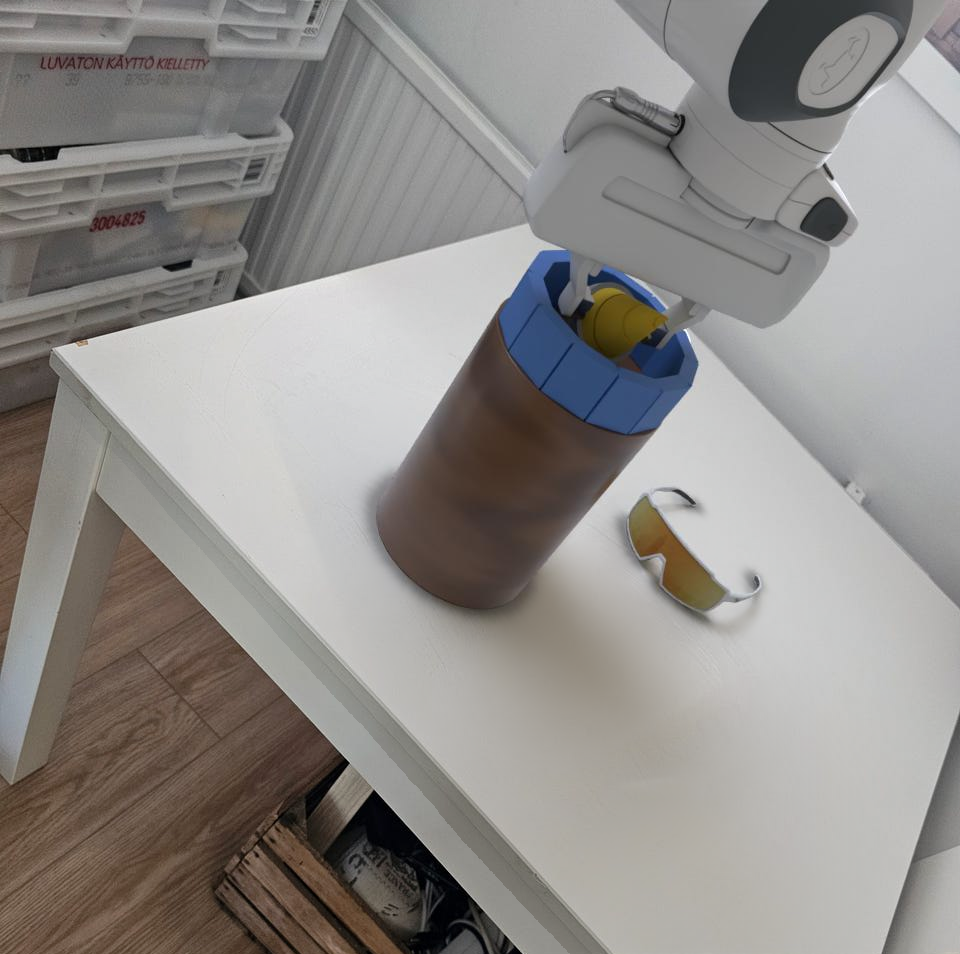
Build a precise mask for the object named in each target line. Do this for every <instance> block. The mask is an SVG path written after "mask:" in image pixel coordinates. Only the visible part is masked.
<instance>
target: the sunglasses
mask: <svg viewBox="0 0 960 954" xmlns="http://www.w3.org/2000/svg"><path fill="white" fill-rule="evenodd" d="M656 492H663V493H674V494H675V495H677V496H679V497H681V498H682V500H684V501H686V502H687V503H688V504H689V505H691V506H692V507H693V506H694V507H695V506H698V504H699V503H698V502H697V500H695V498H693V496H691V495H690V494H689V493H688V492H687V491H686V490H684V489H682V488H680V487H678V486H676V485H656V486H652V487H650V488H648V489H647V490H646V491H644V492H643V493H642V494H641V495H640V496H639V497H638V499H637V501H636V502H635V503H634V504H633V506H632V508H631V509H630V511H629V513H628V515H627V517H626V532H627V538H628V541H629V543H630V546H631V549H632V551H633V553H634V554H635V557H636V558H637V560H639V561H645V562H646V561H649V560H653V559H655V558H658V559H659V560H660V561H661V562H662V564H661V570H660V573H659V583H658V584H659V587H660V588H661V589H662V590H663V591H664V592H665V593H666V594H667V595H668V596H670V597H671V598H672V599H674V600H675V601H677V602H678V603H680V605H683V606H685V607H687V608H688V609H690V610H693V611H694V612H699V613H701V614H707V613H709V612H711V611H713V610H715V609H716V608H717V607H720V606H721V605H722V604H724V602H725V603H732V604H736V603H740V602H742V601H745V600H749V599H750V598H752V597H755V596H756V595H757V594H758V593H759V592H760V591H761V589H762V586H763V583H762V580H761V578H760V576H759V575H758V574H755V575H754V577H753V582H754V585H755V590H754V591H753V592H750V593H736V592H731V590H730V588H729V587H727V586H726V585H725V584H724V583H722V582H721V581H720V580H719V579H718V578H717V577H716V575H715V573H714V571H713V570H712V569H711V568H710V567H709V566H708V565H707V564H706V563H705V562H704V561H703V560H702V559H701V558H700V557H699V556H698V555H697V554H696V552H695V551H694V550H693V549H692V548H691V547H690V546H689V545H688V543H687V542H686V541H685V540H684V539H683V538H682V536H681V535H680V533H679V532H678V531H677V530H676V528H675V527H674V526H673V524H672V523H671V522H670V521H669V519H668V518H667V516H666V515H665V513H664V511H663V510H662V509H661V507H660V506H659V505H658V504H656V502H655V499H654V498H653V496H652V495H653V494H654V493H656Z"/></svg>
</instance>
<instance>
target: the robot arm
mask: <svg viewBox="0 0 960 954" xmlns="http://www.w3.org/2000/svg"><path fill="white" fill-rule="evenodd" d="M613 2H615V4H617V6H619V8H620V9H621V10H622V11H623V12H625V14H626V15H627V16H628V17H629V18H630V19H631V20H632V21H633V22H634V23H635V24H636V25H637V26H638V27H639V28H640V29H641V30H642V31H643V33H644V34H646V35H647V36H648V37H649V38H650V39H651V40H652V41H653V43H655V45H657V46H658V47H659V48H660V49H661V50H662V51H663V52H664V53H665V54H666V55H667V56H668V57H669V59H671V60H672V61H674V62H675V63H676V64H677V65H678V66H679V67H680V68H681V69H682V70H683V71H684V72H685V73H686V74H687V75H688V76H689V77H690V78H691V79H692V80H693V83H692V84H691V86H690V87H689V89H688V90H687V92H686V93H685V95H684V96H683V98H682V99H681V101H680V103H679V104H678V105H677V107H676V108H675V110H671V109H669V108H667V107H665V106H663V105H661V104H658V103H655V102H652V101H649V100H647V99H645V98H643V97H641V96H640V95H639V94H638V93H637V92H635V91H634V90H632V89H630V88H627V87H625V86H616V87H614V89H600V90H596V91H593V92H592V93H588V94H586V95H585V96H584V97H583V98H582V99H581V100H580V101H579V102H578V104H577V106H576V108H575V109H574V111H573V113H572V114H571V116H570V118H569V119H568V121H567V123H566V125H565V128H564V130H563V133H562V134H561V136H560V137H559V138H558V139H557V140H556V142H554V144H553V145H552V146H551V148H550V149H549V151H548V152H547V153H546V154H545V156H544V157H543V158H542V160H541V161H540V163H538V165H537V167H536V168H535V170H534V171H533V173H532V174H531V176H530V177H529V178H528V180H527V182H526V183H525V184H524V185H525V186H524V188H523V190H522V205H523V209H524V214H525V217H526V220H527V223H528V226H529V228H530V231H531V233H532V234H533V236H534V237H536V238H537V239H539V240H541V241H543V242H545V243H549V244H551V245H553V246H556V247H559V248H561V249H562V250H568V251H571V260H570V282H569V283H568V285H567V286H566V288H565V289H564V291H563V292H562V294H561V295H560V297H559V300H558V305H559V308H560V311H561V314H563V315H565V316H568V317H571V318H574V319H577V320H580V321H581V320H583V319H584V318H585V316H586V312H588V311H590V309H591V308H592V306H593V305H594V304H595V302H594V299H593V296H592V295H591V294H590V293H591V290H590V288H589V286H587V279H588V274H590V275H591V276H594V277H595V276H597V275H598V273H599V272H600V271H601V269H602V268H603V266H604V265H605V266H607V267H610V268H612V269H615V270H617V271H620V272H622V273H624V274H626V275H627V276H628V277H632V278H634V279H637V280H639V281H641V282H644V283H647V284H649V285H651V286H654V287H657V288H658V289H661V290H664V291H666V292H669V293H671V294H673V295H676V296H678V297H680V298H681V300H679V301H678V302H676V303H675V304H673V305H671V306H670V307H668V308H666V309H667V310H665V311H664V312H662V313H661V314H663V315H665V316H667V317H668V320H667V321H666V322H665V323H664V324H662V325H661V326H660V327H658V328H656V330H654V331H653V332H652V333H650V334H649V335H648V336H646V337H645V338H644V339H642V340H641V343H642V344H644V345H647V346H649V347H652V348H655V349H658V350H661V349H662V348H663V347H664V346H665V345H666V343H667V342H668V341H669V340H670V338H671V337H672V336H673V335H674V333H675V334H676V333H679V332H681V331H683V330H685V329H686V330H687V329H689V328H691V327H693V326H694V325H696V324H698V323H701V322H703V321H704V320H705V318H706V317H707V316H708V315H709V313H711V312H712V310H713V311H715V312H718V313H720V314H722V315H724V316H727V317H730V318H732V319H736V320H737V321H740V322H741V323H744V324H747V325H750V326H752V327H754V328H757V329H759V330H765V329H769V328H771V327H774V326H776V325H777V324H780V323H782V322H783V321H784V320H785V319H787V317H789V315H790V314H791V313H792V312H793V311H794V310H795V309H796V308H797V306H798V305H799V304H800V303H801V302H802V301H803V300H804V298H805V297H806V296H807V295H808V293H809V292H810V291H811V290H812V288H813V287H814V286H815V285H816V283H817V282H818V281H819V279H820V278H821V277H822V276H823V274H824V272H825V271H826V269H827V267H828V265H829V263H830V260H831V255H832V251H831V248H839V247H841V246H843V245H844V244H845V243H847V242H848V241H849V240H850V239H851V238H852V237H853V235H855V233H856V231H858V228H859V224H860V223H859V219H858V217H857V215H856V213H855V212H854V209H853V208H852V205H851V204H850V202H849V200H848V199H847V196H846V195H845V193H844V192H843V190H842V189H841V187H840V185H839V184H838V182H837V181H836V179H835V177H834V174H833V172H832V171H831V170H830V168H829V166H828V165H827V163H826V161H827V160H828V159H829V158H830V156H832V154H834V151H835V150H836V149H837V148H838V146H839V144H841V141H842V140H843V137H844V136H845V133H846V131H847V128H848V126H849V125H850V123H851V121H852V119H853V117H854V116H855V114H856V113H857V112H858V110H859V109H860V107H861V106H862V105H864V104H865V103H866V101H867V100H868V99H869V98H870V97H871V96H873V95H874V94H875V93H876V92H878V91H880V89H882V88H884V87H885V86H886V85H887V84H888V83H890V81H891V80H892V79H893V78H894V76H895V75H896V74H897V73H898V71H899V70H900V69H901V68H902V67H903V65H904V64H905V63H906V61H907V60H908V59H909V58H910V56H911V55H912V54H913V53H914V51H915V50H916V48H917V47H918V46H919V45H920V43H921V42H922V41H923V39H924V38H925V37H926V36H927V34H928V32H929V31H930V30H931V28H932V27H933V25H934V24H935V23H936V21H937V20H938V19H939V17H940V16H941V14H942V13H943V11H945V8H946V7H947V6H948V5H949V3H950V2H951V0H613ZM606 99H609V101H608V100H606Z"/></svg>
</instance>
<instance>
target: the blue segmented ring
mask: <svg viewBox="0 0 960 954" xmlns="http://www.w3.org/2000/svg"><path fill="white" fill-rule="evenodd" d="M570 260H571V251H568V250H566V249H544V250H541V251H538V253H537V255H536V256H535V258H534V259H533V261H532V262H531V264H530V265H529V266H528V268H527V269H526V271H525V272H524V274H523V275H522V276H521V279H520V280H519V282H518V283H517V285H516V287H515V288H514V290H513V291H512V293H511V295H510V296H509V297H510V298H509V297H508V298H509V299H508V301H507V303H506V304H505V306H504V307H503V309H502V311H501V312H500V314H499V321H500V325H501V328H502V332H503V336H504V340H505V343H506V347H507V350H509V353H510V355H511V356H512V357H513V358H514V360H515V361H516V362H517V363H518V364H519V366H520V367H521V368H522V369H523V371H524V372H525V373H526V374H527V376H528V377H529V378H530V379H531V380H532V382H533V383H534V384H535V385H536V387H537V388H538V389H541V388H542V389H541V392H543V393H544V394H546V395H547V396H549V397H550V398H551V399H553V400H554V401H556V402H557V403H559V404H560V405H562V406H563V407H564V408H566V409H567V410H569V411H570V412H572V413H573V414H574V415H576V416H577V417H579V418H580V419H582V420H584V419H585V422H587V423H591V424H594V425H597V426H600V427H603V428H607V429H610V430H613V431H616V432H619V433H623V434H627V433H628V434H633V433H638V432H642V431H646V430H650V429H655V428H657V427H658V426H659V425H660V424H661V422H662V421H663V422H664V420H665V419H666V418H667V417H668V415H670V413H671V412H672V411H673V409H674V408H675V407H676V406H677V405H678V404H679V403H680V401H681V400H682V399H683V398H684V396H685V395H686V394H687V393H688V392H689V390H690V389H691V388H692V387H693V384H694V381H695V378H696V374H697V371H698V368H699V366H700V364H699V363H700V361H699V360H698V358H697V355H696V353H695V350H694V347H693V345H692V342H691V343H690V341H691V340H690V341H689V338H688V336H687V333H686V331H687V330H686V331H684V330H683V331H681V332H679V333H676V334H675V333H674V335H673V336H672V337H671V338H670V340H669V341H668V342H667V343H666V345H665V346H664V347H663V348H662V349H661V350H658V349H655V348H652V347H649V346H647V345H644V344H642V343H641V341H640V342H638V343H637V344H636V346H635V348H634V349H633V351H632V352H631V354H630V355H629V356H630V357H631V358H632V359H633V360H634V362H635V363H636V364H637V365H638V366H639V368H640V369H641V370H642V373H643V375H642V374H639V373H636V372H633V371H630V370H627V369H625V368H622V367H619V366H617V365H615V364H614V363H612V362H611V361H610V360H608V359H607V358H605V357H604V356H602V355H601V354H600V353H598V352H597V351H595V350H594V349H593V348H591V347H590V346H588V345H587V344H586V343H584V342H583V341H581V340H580V339H579V338H578V337H577V335H576V334H575V333H574V332H573V331H572V329H571V328H570V327H569V326H568V325H567V324H566V322H565V321H564V320H563V319H562V318H561V316H560V315H559V314H558V313H557V312H556V310H555V309H554V308H553V307H552V306H554V307H557V308H559V305H558V300H559V297H560V295H561V294H562V292H563V291H564V289H565V288H566V286H567V285H568V283H569V282H570ZM605 282H613V283H618V284H620V285H622V286H624V287H625V288H626V289H628V290H629V291H630V292H631V294H632V295H633V296H634V298H635V299H636V300H638V301H640V302H642V303H643V304H645V305H647V306H649V307H651V308H652V309H654V310H656V311H658V312H660V313H662V312H664V311H665V310H667V309H668V308H666V307H665V306H664V304H662V302H661V301H660V300H659V298H657V297H656V296H654V294H653V293H652V292H650V290H648V289H646V288H645V287H644V286H642V285H641V284H639V283H638V282H637V281H635V280H634V279H632V278H631V276H629V275H627V274H624V273H622V272H620V271H617V270H615V269H612V268H610V267H607V266H605V265H604V266H603V268H602V269H601V271H600V272H599V273H598V275H597V276H595V277H594V276H591V275H590V274H588V279H587V286H591V285H594V284H598V283H605ZM663 422H662V423H663ZM661 425H662V424H661Z"/></svg>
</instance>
